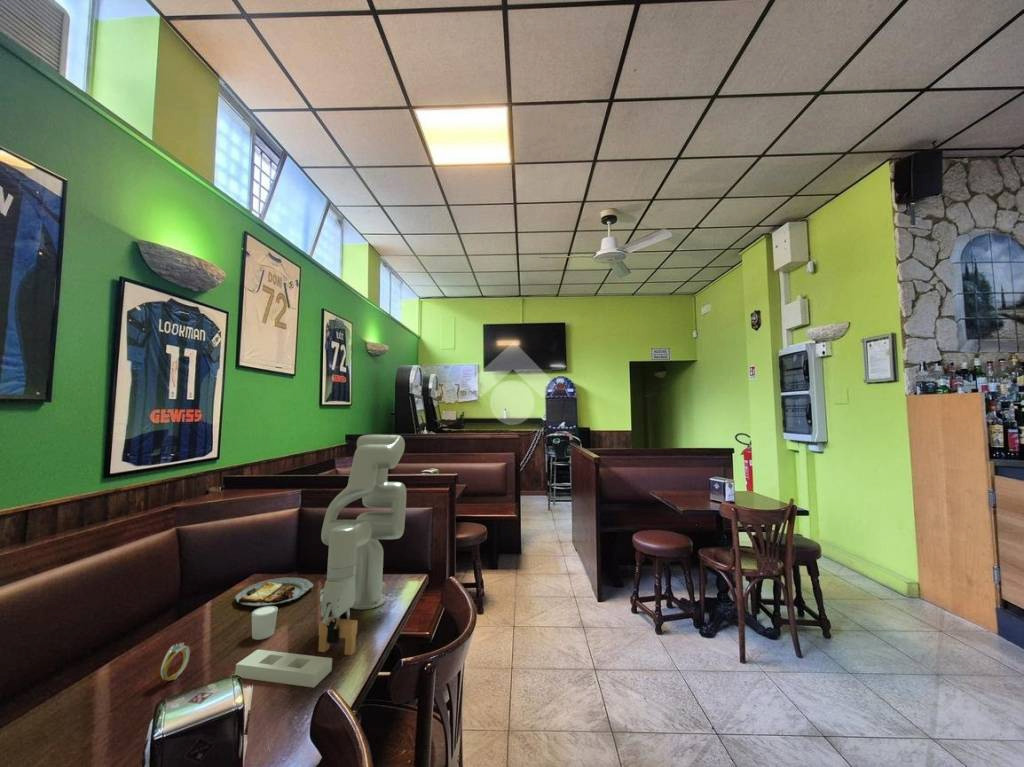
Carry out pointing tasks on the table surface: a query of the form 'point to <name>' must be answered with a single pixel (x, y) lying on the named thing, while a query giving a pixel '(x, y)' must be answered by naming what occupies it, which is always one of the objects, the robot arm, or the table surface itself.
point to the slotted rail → (284, 668)
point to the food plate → (273, 591)
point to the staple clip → (340, 635)
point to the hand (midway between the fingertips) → (337, 638)
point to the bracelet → (166, 662)
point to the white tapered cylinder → (263, 622)
